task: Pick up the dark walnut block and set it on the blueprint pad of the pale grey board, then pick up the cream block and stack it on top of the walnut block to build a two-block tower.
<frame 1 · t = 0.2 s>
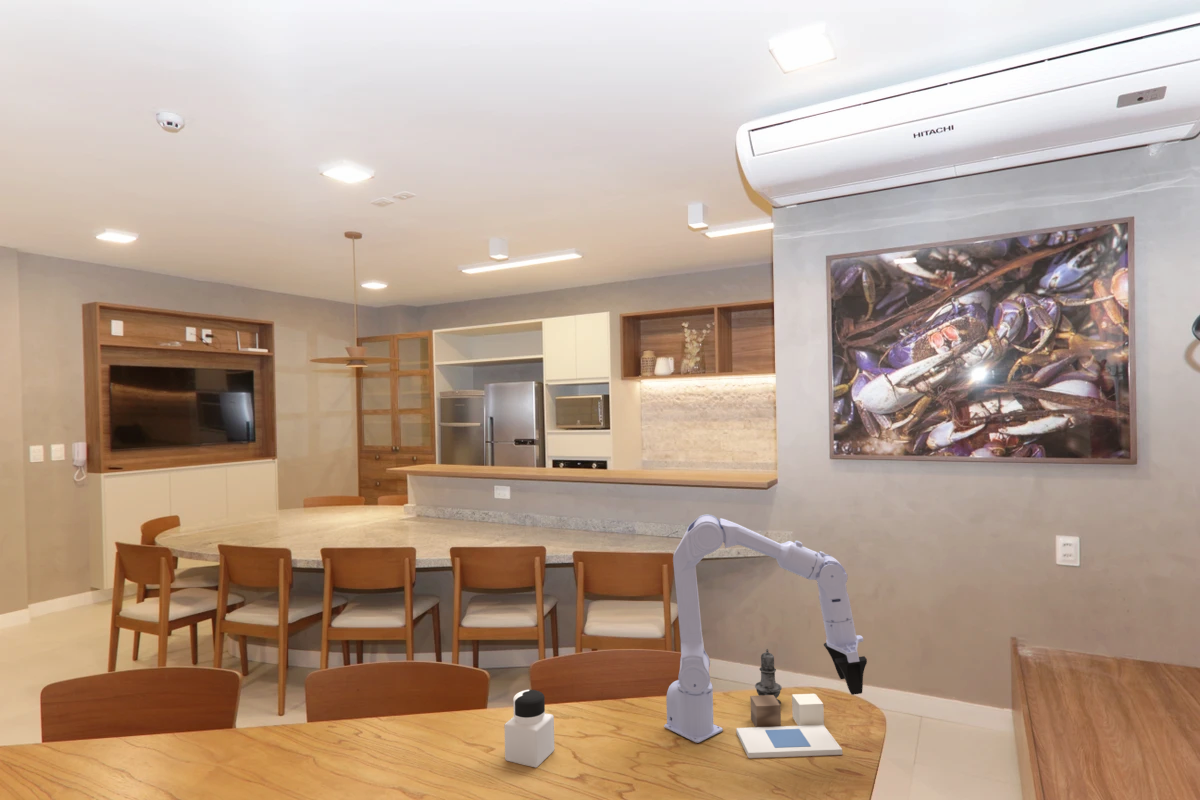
hand: (850, 685, 135), 11 cm above the table, tool pointing down, fingers open, 7 cm apart
cream block: (808, 722, 142), on the table
medicine bottle: (530, 756, 131), on the table
walnut block: (765, 724, 142), on the table
board: (787, 743, 133), on the table
salt shaker: (768, 703, 152), on the table
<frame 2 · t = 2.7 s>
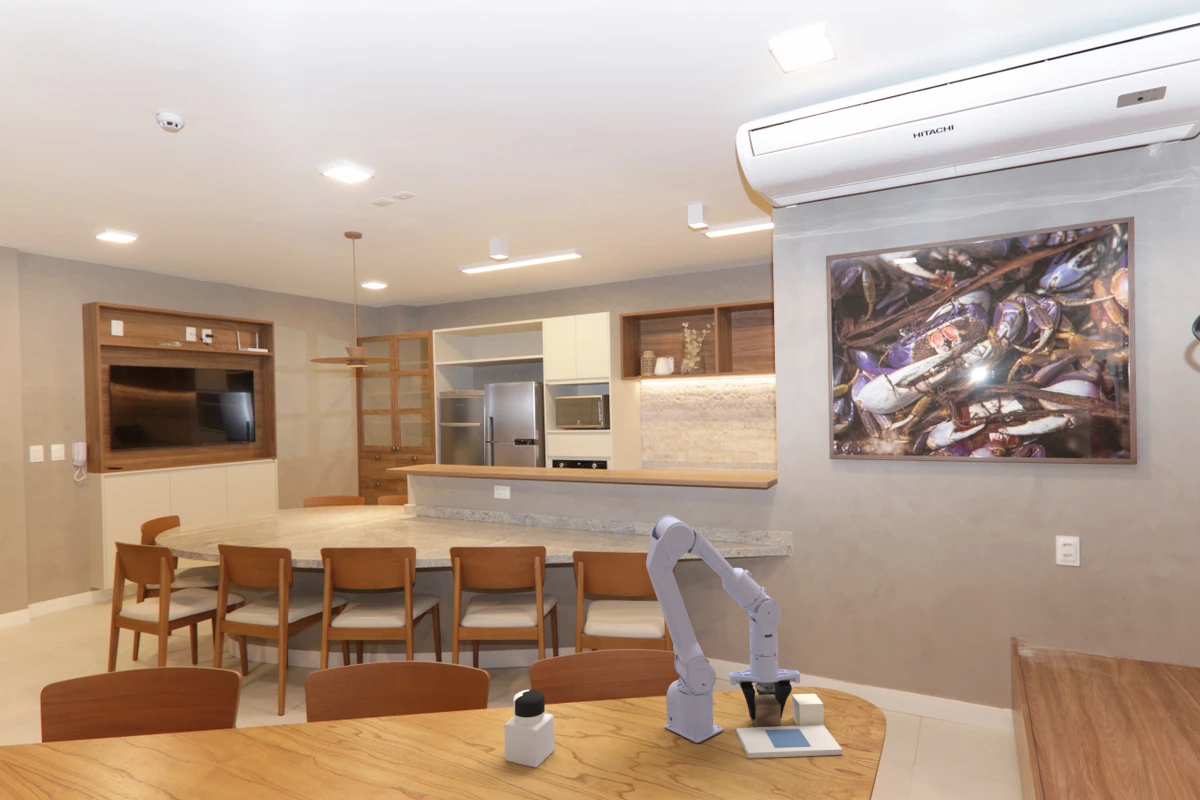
hand: (765, 717, 142), 1 cm above the table, tool pointing down, fingers closed on walnut block, 5 cm apart
walnut block: (765, 723, 142), on the table, touching gripper
everything else where it was.
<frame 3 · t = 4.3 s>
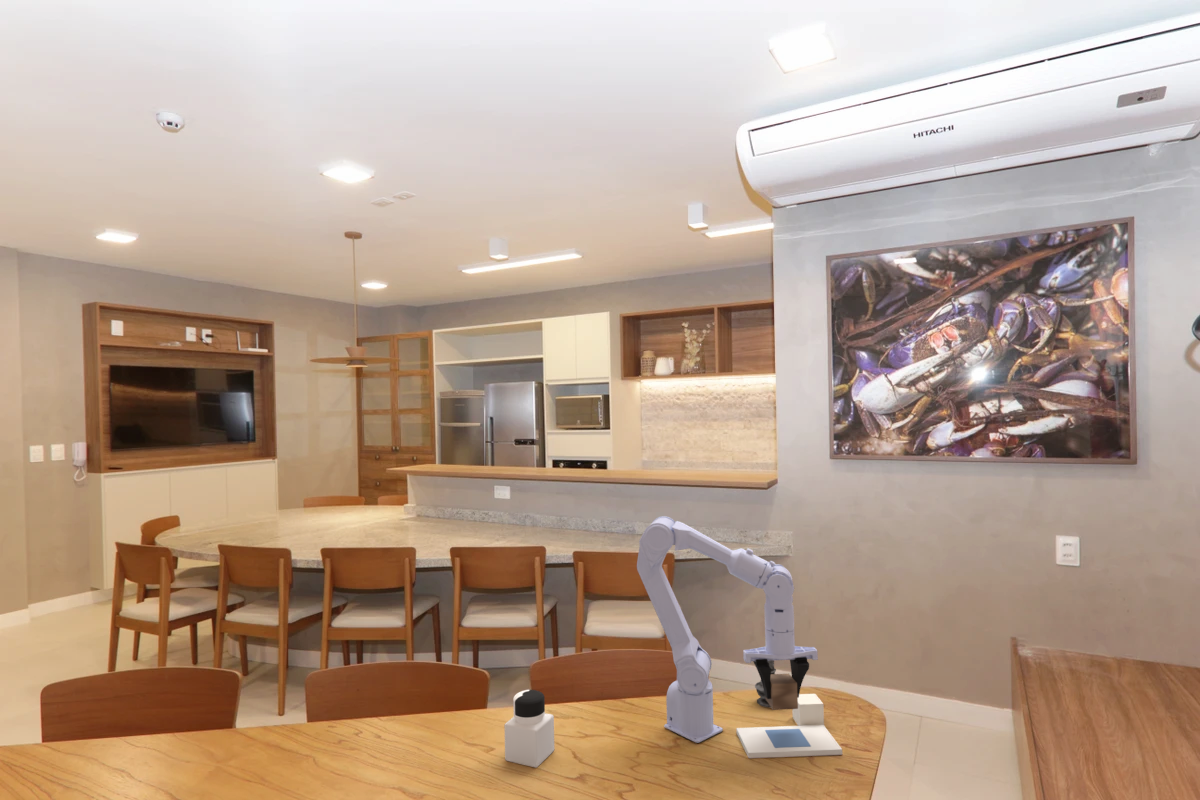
hand: (781, 696, 135), 8 cm above the table, tool pointing down, fingers closed on walnut block, 5 cm apart
walnut block: (781, 703, 136), point 7 cm above the table, touching gripper
everything else where it was.
when the fingers open (3 cm above the table, at t = 5.9 s): walnut block stays where it is, resting on board.
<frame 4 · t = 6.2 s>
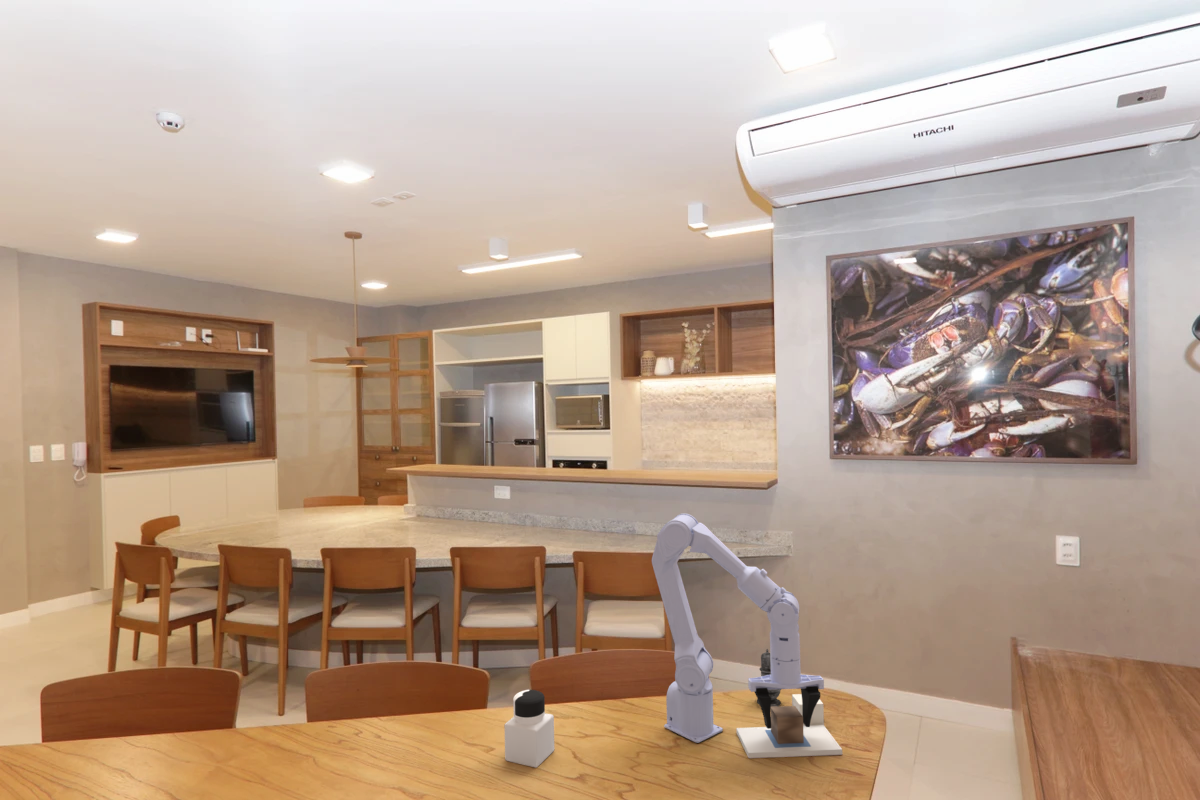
hand: (787, 725, 133), 4 cm above the table, tool pointing down, fingers open, 7 cm apart
walnut block: (787, 737, 134), point 1 cm above the table, touching board
everything else where it was.
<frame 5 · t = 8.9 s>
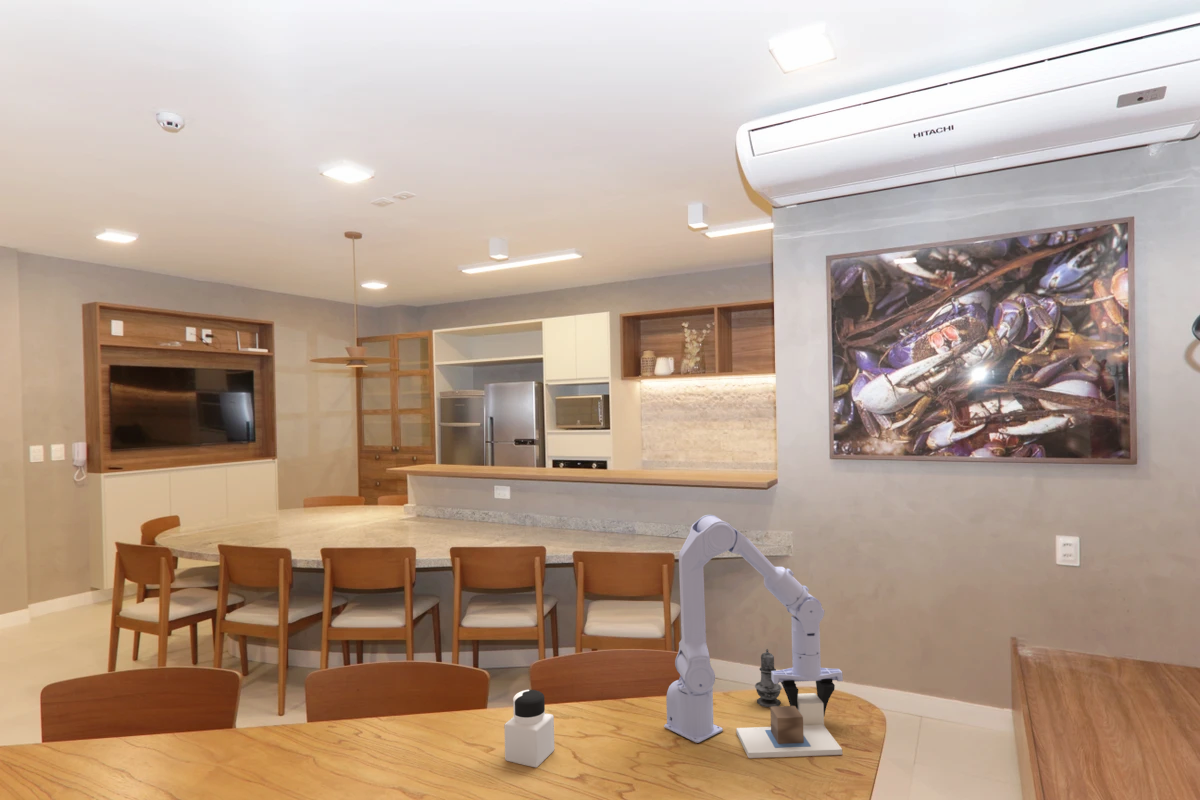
hand: (807, 715, 142), 1 cm above the table, tool pointing down, fingers closed on cream block, 5 cm apart
cream block: (808, 722, 142), on the table, touching gripper
everything else where it was.
when the fingers open (8 cm above the table, at t = 13.1 s): cream block stays where it is, resting on walnut block.
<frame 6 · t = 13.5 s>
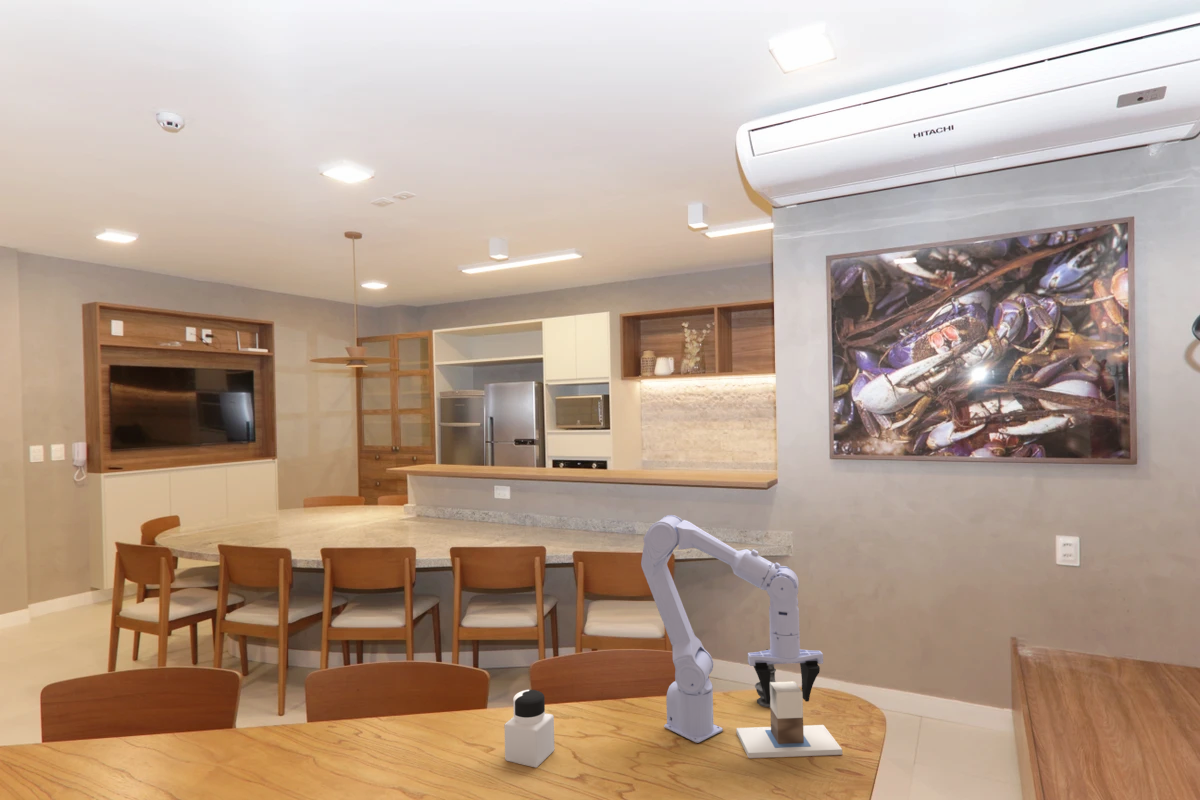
hand: (786, 700, 133), 8 cm above the table, tool pointing down, fingers open, 7 cm apart
cream block: (786, 712, 133), point 6 cm above the table, touching walnut block
walnut block: (787, 737, 134), point 1 cm above the table, touching board, cream block
everything else where it was.
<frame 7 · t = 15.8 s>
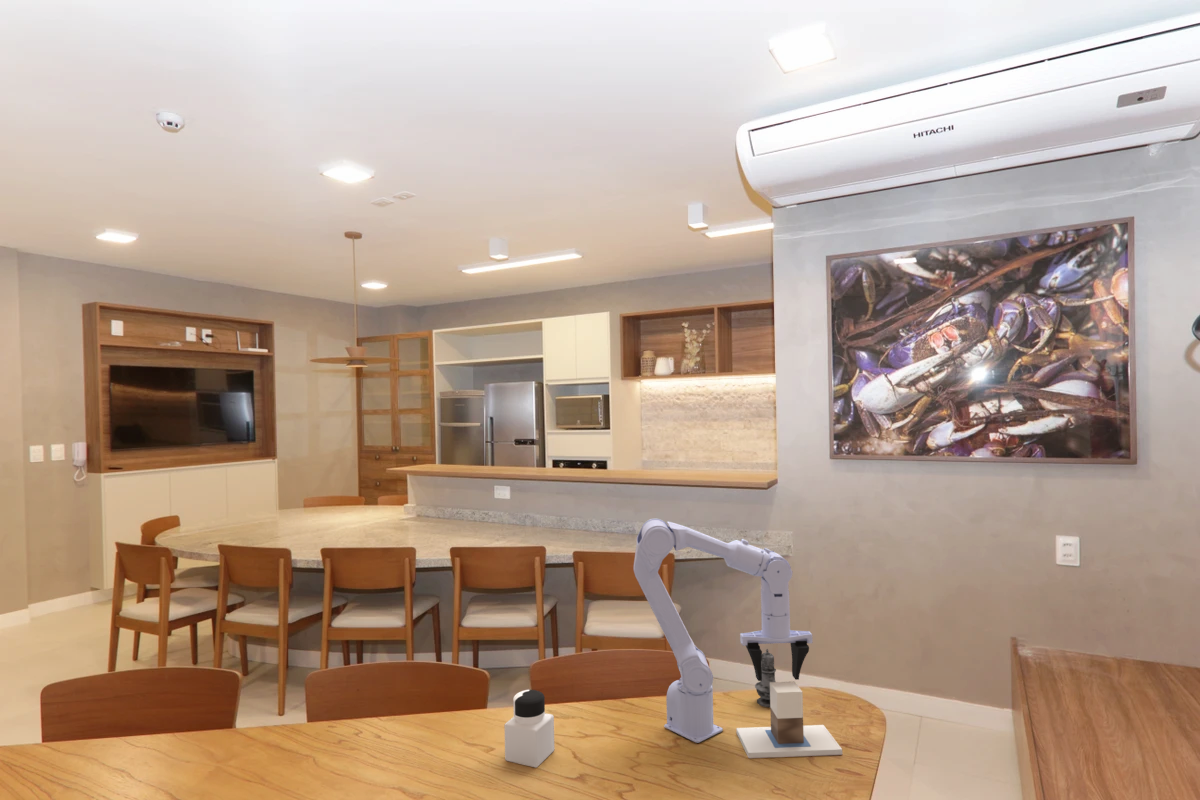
hand: (777, 678, 139), 10 cm above the table, tool pointing down, fingers open, 7 cm apart
nothing on the table moved.
at the end: walnut block 0.3 cm off-centre on the board, point 1.1 cm above the board's base; cream block 0.3 cm from the walnut block (horizontally); cream block point 6.1 cm above the table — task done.
